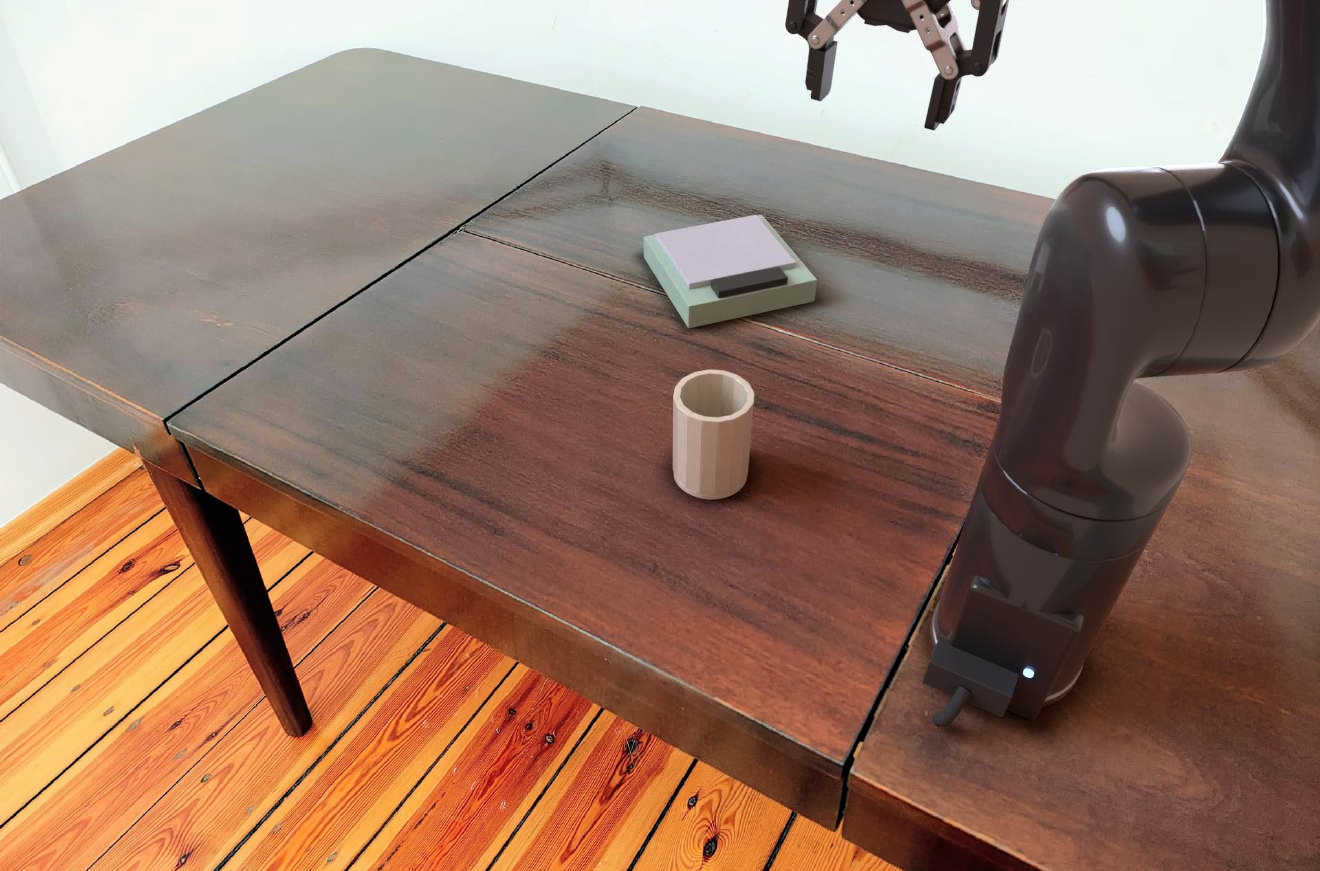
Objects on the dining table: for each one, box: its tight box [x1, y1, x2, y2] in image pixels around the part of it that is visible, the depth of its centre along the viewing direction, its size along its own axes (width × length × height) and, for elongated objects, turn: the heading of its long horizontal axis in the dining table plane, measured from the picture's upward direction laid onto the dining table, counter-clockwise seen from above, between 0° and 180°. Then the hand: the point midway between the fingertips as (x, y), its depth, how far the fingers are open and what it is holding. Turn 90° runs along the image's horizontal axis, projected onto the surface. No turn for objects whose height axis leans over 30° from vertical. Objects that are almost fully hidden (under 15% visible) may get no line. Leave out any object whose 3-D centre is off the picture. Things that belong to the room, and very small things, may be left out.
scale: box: [643, 214, 818, 329], centre depth 92 cm, size 13×13×3 cm
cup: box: [672, 368, 755, 500], centre depth 70 cm, size 6×6×8 cm
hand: (875, 110), depth 67 cm, fingers open, 8 cm apart
